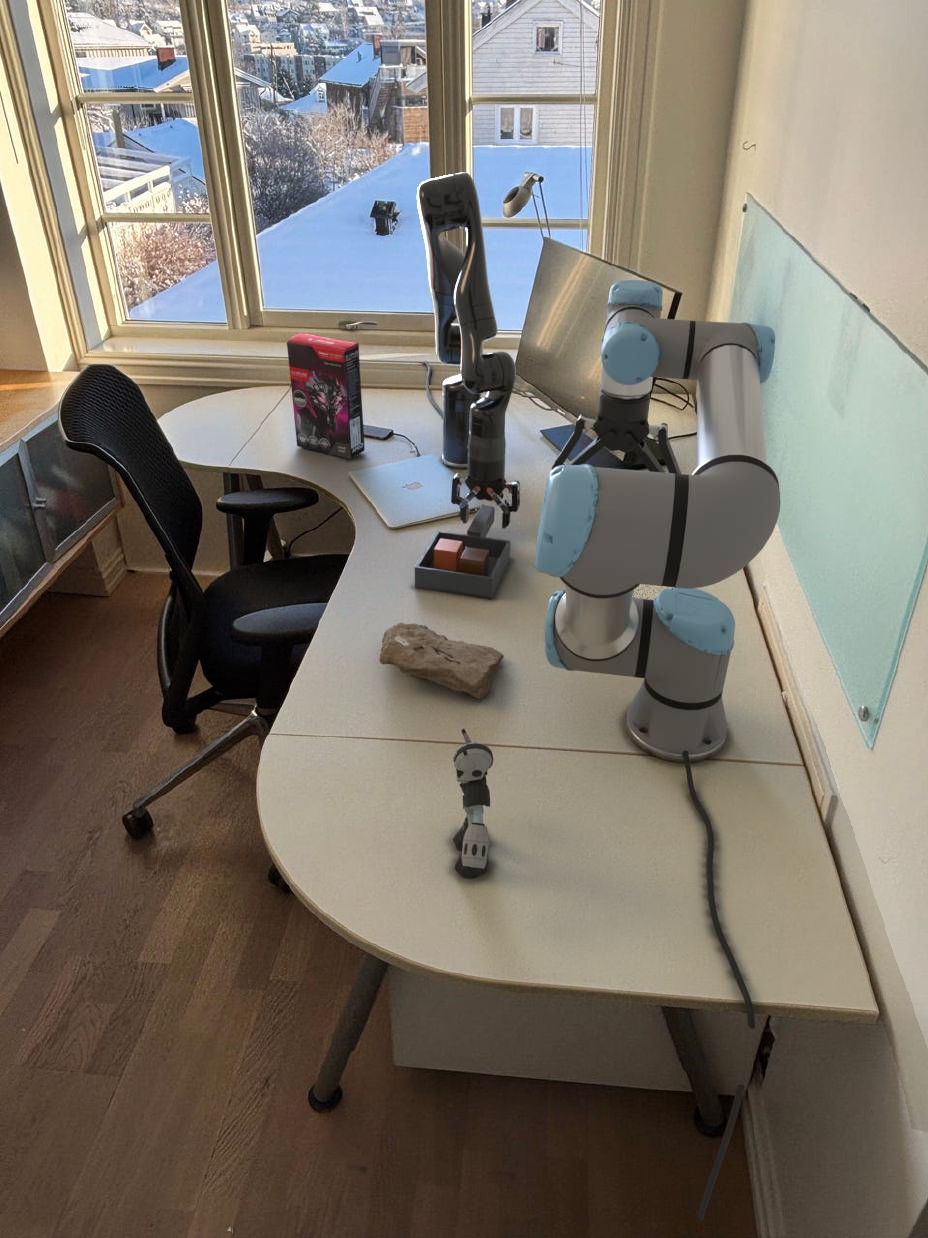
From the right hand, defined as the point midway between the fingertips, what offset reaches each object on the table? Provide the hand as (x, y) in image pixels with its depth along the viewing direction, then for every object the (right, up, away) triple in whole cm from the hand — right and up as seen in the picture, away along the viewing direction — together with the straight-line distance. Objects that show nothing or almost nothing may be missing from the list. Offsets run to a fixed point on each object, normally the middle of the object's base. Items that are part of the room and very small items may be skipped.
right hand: (611, 518), depth 149 cm
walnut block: (-22, -9, +30) cm, 38 cm away
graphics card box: (-57, +26, +82) cm, 104 cm away
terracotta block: (-27, -7, +32) cm, 43 cm away
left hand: (-19, +4, +45) cm, 49 cm away
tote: (-22, -4, +38) cm, 44 cm away
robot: (-23, -48, -27) cm, 59 cm away
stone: (-29, -25, +6) cm, 39 cm away
